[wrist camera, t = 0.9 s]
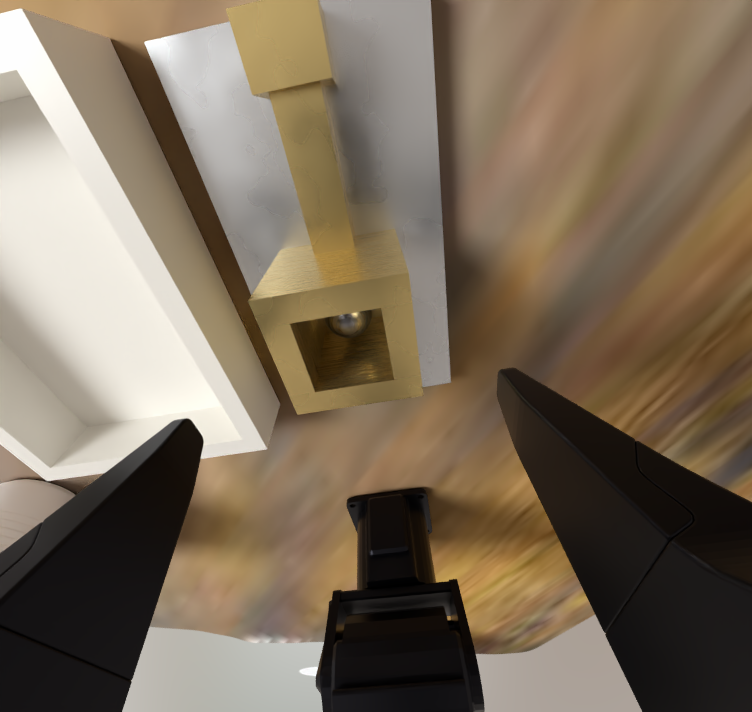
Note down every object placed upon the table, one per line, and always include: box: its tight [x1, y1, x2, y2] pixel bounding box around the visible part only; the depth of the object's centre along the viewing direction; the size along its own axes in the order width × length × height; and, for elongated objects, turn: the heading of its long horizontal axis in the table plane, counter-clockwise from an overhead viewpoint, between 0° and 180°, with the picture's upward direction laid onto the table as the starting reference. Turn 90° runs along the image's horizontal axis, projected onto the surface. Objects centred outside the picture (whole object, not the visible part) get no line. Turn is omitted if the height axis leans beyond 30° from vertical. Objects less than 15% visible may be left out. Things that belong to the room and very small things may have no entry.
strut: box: [226, 0, 423, 415], centre depth 12 cm, size 12×5×5 cm, turn 10°
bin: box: [0, 8, 280, 481], centre depth 15 cm, size 17×13×4 cm
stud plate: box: [144, 0, 451, 387], centre depth 14 cm, size 16×9×4 cm, turn 10°
